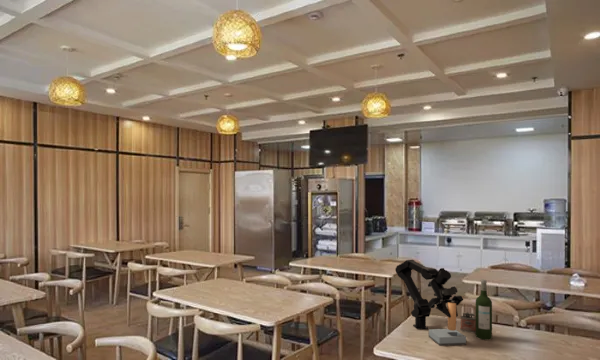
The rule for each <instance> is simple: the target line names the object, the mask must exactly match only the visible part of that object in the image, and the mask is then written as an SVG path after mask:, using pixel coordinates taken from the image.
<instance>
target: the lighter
mask: <svg viewBox="0 0 600 360" xmlns="http://www.w3.org/2000/svg"><path fill="white" fill-rule="evenodd" d="M460 331H462V332H467V333H472V334H473V333H474V334H476V313H472V312H468V311H467V312H464V311H463V312H462V315H460Z"/></svg>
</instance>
